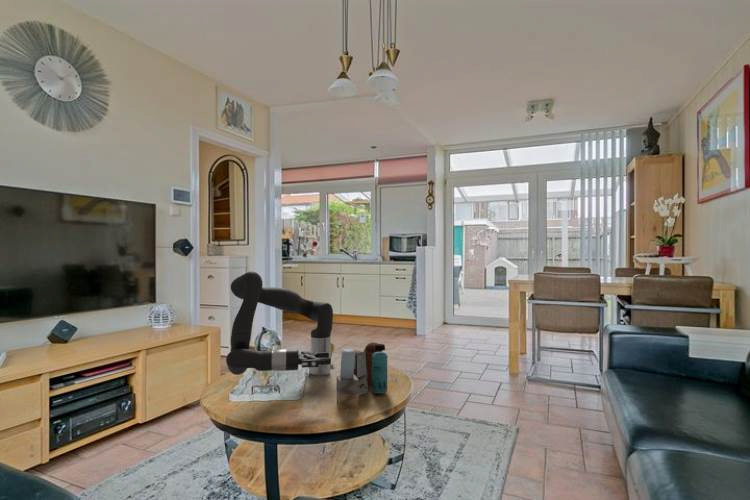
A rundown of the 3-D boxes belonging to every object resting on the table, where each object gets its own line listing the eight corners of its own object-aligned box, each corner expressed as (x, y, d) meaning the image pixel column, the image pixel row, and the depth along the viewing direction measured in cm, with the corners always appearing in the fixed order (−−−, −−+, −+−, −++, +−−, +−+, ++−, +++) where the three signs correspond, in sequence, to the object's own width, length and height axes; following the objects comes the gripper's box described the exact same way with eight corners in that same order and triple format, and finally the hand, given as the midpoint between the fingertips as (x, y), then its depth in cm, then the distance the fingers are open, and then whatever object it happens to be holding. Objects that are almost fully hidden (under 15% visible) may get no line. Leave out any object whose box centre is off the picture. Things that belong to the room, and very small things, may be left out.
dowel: (337, 377, 154) (338, 350, 153) (346, 374, 158) (347, 348, 157) (347, 380, 151) (349, 353, 150) (356, 377, 155) (357, 351, 154)
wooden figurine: (388, 386, 175) (388, 343, 175) (376, 389, 171) (376, 346, 171) (370, 379, 184) (370, 339, 184) (359, 382, 180) (359, 341, 180)
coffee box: (368, 392, 167) (368, 352, 168) (357, 396, 163) (357, 355, 163) (352, 387, 174) (352, 349, 174) (341, 391, 169) (341, 351, 169)
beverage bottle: (371, 391, 169) (371, 342, 169) (387, 391, 168) (388, 342, 169) (370, 397, 162) (371, 346, 162) (387, 397, 162) (388, 346, 162)
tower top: (339, 395, 150) (339, 381, 150) (336, 388, 157) (336, 375, 157) (358, 393, 152) (358, 379, 152) (354, 387, 158) (354, 374, 159)
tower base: (339, 408, 150) (339, 395, 150) (336, 402, 157) (336, 388, 157) (358, 407, 152) (358, 393, 152) (354, 400, 158) (354, 387, 158)
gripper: (284, 354, 143) (331, 352, 146) (285, 345, 157) (328, 343, 160) (284, 376, 143) (331, 373, 146) (285, 365, 157) (328, 363, 160)
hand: (329, 358), depth 153 cm, fingers open, 8 cm apart
